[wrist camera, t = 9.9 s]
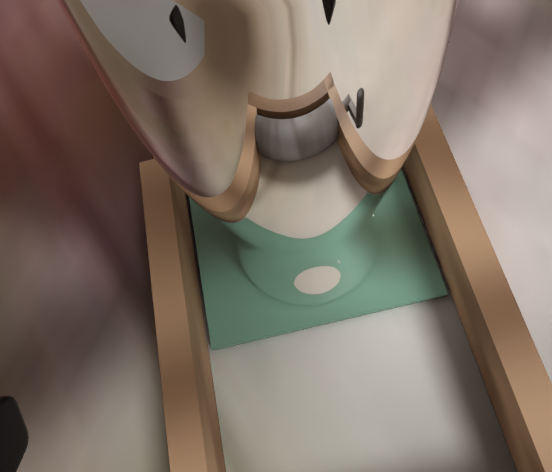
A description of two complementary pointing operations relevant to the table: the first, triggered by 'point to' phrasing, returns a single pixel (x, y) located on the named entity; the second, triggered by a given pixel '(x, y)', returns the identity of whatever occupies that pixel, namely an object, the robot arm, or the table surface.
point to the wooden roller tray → (340, 301)
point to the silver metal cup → (276, 117)
